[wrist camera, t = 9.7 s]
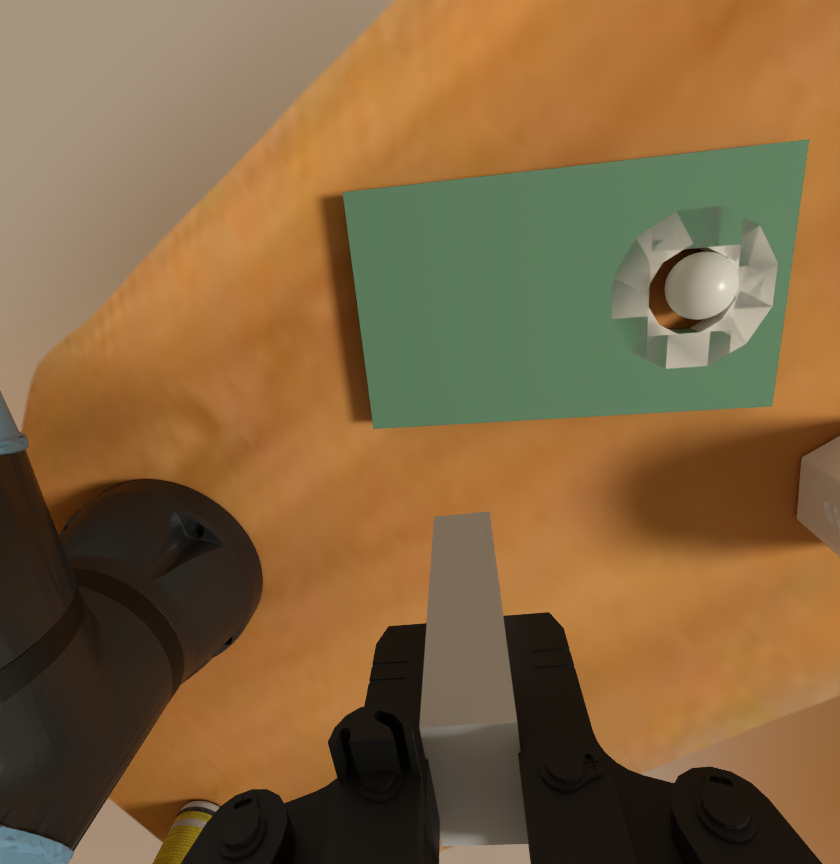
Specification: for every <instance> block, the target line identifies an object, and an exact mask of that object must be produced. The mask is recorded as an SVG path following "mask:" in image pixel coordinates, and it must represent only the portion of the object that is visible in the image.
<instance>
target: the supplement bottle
mask: <svg viewBox="0 0 840 864" xmlns="http://www.w3.org/2000/svg"><path fill="white" fill-rule="evenodd" d="M218 809H219V806H217V805H215V804H213V803H210V802H207V801H193V802H190V803H188V804H186V805H185V806H183V807H182V809H181V810H180V812H179V813H178V815H177V817H176V819H175V821H174V823H173V825H172V827H171V829H170V831H169V833H168V835H167V837H166V839H165V840H164V842H163V844H162V846H161V848H160V850H159V852H158V854H157V856H156V858H155V860H154V862H153V864H181V862H182V861H183V859H184V857H185V856H186V854H187V853H188V851H189V850H190V848H191V846H192V845H193V843H194V842H195V840H196V839H197V837H198V835H199V834H200V832H201V831H202V829H203V828H204V826H205V825H206V823H207V822H208V821H209V819H210V818H211V817H212V816H213V815H214V813H215V812H216V811H217V810H218Z"/></svg>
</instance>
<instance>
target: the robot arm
mask: <svg viewBox="0 0 840 864" xmlns="http://www.w3.org/2000/svg"><path fill="white" fill-rule="evenodd" d="M28 446H29V442H28V439H27V437H26V436H25V435H24V434H23V433H21V432H19V431H18V428H17V426H16V424H15V422H14V420H13V418H12V415H11V413H10V411H9V409H8V407H7V404H6V402H5V400H4V398H3V396H2V394H1V392H0V864H68V863H69V861H70V859H71V858H72V856H73V853H74V852H73V851H74V850H75V848H76V847H77V845H78V844H79V842H80V840H81V839H82V837H83V836H84V834H85V833H86V831H87V829H88V828H89V826H90V825H91V823H92V822H93V820H94V818H95V817H96V815H97V814H98V812H99V811H100V809H101V808H102V806H103V804H104V803H105V801H106V800H107V798H108V797H109V795H110V794H111V792H112V790H113V789H114V787H115V786H116V784H117V783H118V781H119V779H120V778H121V776H122V775H123V773H124V772H125V770H126V768H127V767H128V765H129V764H130V762H131V761H132V759H133V758H134V756H135V754H136V753H137V751H138V750H139V748H140V747H141V745H142V743H143V742H144V740H145V739H146V737H147V736H148V734H149V733H150V731H151V729H152V728H153V726H154V725H155V723H156V722H157V720H158V718H159V717H160V715H161V714H162V712H163V711H164V709H165V707H166V706H167V704H168V703H169V701H170V700H171V698H172V697H173V695H174V694H175V692H176V691H177V689H178V688H179V686H180V685H181V684H182V683H184V682H185V681H186V680H188V679H189V678H190V677H191V676H193V675H194V674H195V673H196V672H198V671H199V670H200V669H201V668H203V667H204V666H205V665H206V664H207V663H208V662H209V661H210V660H211V659H212V658H213V657H215V656H217V655H219V654H220V653H222V652H223V651H224V650H226V649H227V648H228V647H230V646H231V645H232V644H233V643H234V642H235V641H236V640H237V639H238V637H239V636H240V635H241V634H242V632H243V631H244V629H245V628H246V626H247V624H248V623H249V621H250V619H251V617H252V616H253V614H254V612H255V611H256V609H257V607H258V604H259V601H260V598H261V594H262V585H263V577H262V569H261V564H260V560H259V557H258V554H257V552H256V549H255V547H254V545H253V543H252V541H251V540H250V538H249V536H248V535H247V533H246V532H245V530H244V529H243V528H242V526H241V525H240V524H239V523H238V522H237V521H236V520H235V518H234V517H233V516H232V515H231V514H229V513H228V512H227V511H226V510H225V509H224V508H223V507H221V506H220V505H219V504H217V503H216V502H214V501H213V500H211V499H210V498H208V497H206V496H205V495H203V494H201V493H199V492H197V491H195V490H193V489H190V488H188V487H185V486H182V485H179V484H175V483H171V482H166V481H159V480H136V481H130V482H125V483H122V484H119V485H116V486H114V487H111V488H109V489H107V490H106V491H104V492H103V493H101V494H100V495H98V496H97V497H95V498H94V499H92V500H91V501H89V502H88V503H87V504H85V505H84V506H82V507H81V508H80V509H79V510H78V511H77V512H76V513H75V514H74V515H73V516H72V517H71V518H70V519H69V520H68V522H67V523H66V525H65V526H64V528H63V530H62V532H61V534H60V535H59V536H58V534H57V531H56V529H55V526H54V524H53V521H52V519H51V516H50V514H49V511H48V509H47V506H46V503H45V501H44V498H43V495H42V493H41V490H40V487H39V485H38V482H37V479H36V477H35V474H34V471H33V469H32V466H31V463H30V461H29V458H28V455H27V453H26V450H25V449H27V448H28ZM328 745H329V748H330V752H331V756H332V759H333V763H334V767H335V770H336V774H337V779H335V780H334V781H333V782H331V783H330V784H329V785H327V786H326V787H324V788H322V789H320V790H318V791H316V792H313V793H311V794H308V795H305V796H303V797H300V798H297V799H295V800H292V801H290V802H287V803H283V801H282V799H281V798H280V796H279V795H277V794H275V793H273V792H271V791H269V790H267V789H252V790H249V791H247V792H244V793H241V794H239V795H236V796H234V797H233V798H232V799H230V800H229V801H227V802H226V803H225V804H223V805H222V806H221V807H219V809H218V810H217V811H216V812H215V813H214V815H213V816H212V817H211V818H210V819H209V821H208V822H207V823H206V825H205V826H204V828H203V829H202V831H201V832H200V834H199V835H198V837H197V839H196V840H195V842H194V843H193V845H192V846H191V848H190V850H189V851H188V853H187V854H186V856H185V857H184V859H183V861H182V862H181V864H439V840H440V837H441V842H442V846H469V845H501V844H529V853H530V861H531V864H822V863H821V862H820V860H819V859H818V858H817V857H816V856H815V854H814V853H813V852H812V851H811V850H810V848H809V847H808V846H807V845H806V844H805V842H804V841H803V840H802V839H801V838H800V836H799V835H798V834H797V833H796V832H795V830H794V829H793V828H792V827H791V825H790V824H789V823H788V822H787V821H786V819H785V818H784V817H783V816H782V815H781V813H780V812H779V811H778V810H777V809H776V807H775V806H774V805H773V804H772V803H771V801H770V800H769V799H768V798H767V797H766V796H765V795H764V794H762V793H761V792H760V791H759V790H758V789H757V788H756V787H755V786H754V785H753V784H752V783H750V782H748V781H746V780H745V779H743V778H741V777H739V776H738V775H736V774H734V773H732V772H730V771H726V770H721V769H718V768H714V767H700V768H692V769H690V770H688V771H686V772H685V773H683V774H681V775H679V776H678V778H677V780H676V782H675V783H670V782H666V781H663V780H659V779H655V778H651V777H647V776H643V775H641V774H638V773H636V772H633V771H630V770H628V769H626V768H625V767H623V766H621V765H620V764H618V763H616V762H615V761H614V760H613V759H612V758H611V757H610V756H608V755H607V754H606V753H605V752H604V750H603V749H602V748H601V746H600V745H599V743H598V742H597V740H596V738H595V735H594V733H593V730H592V727H591V723H590V720H589V716H588V713H587V709H586V706H585V702H584V699H583V695H582V692H581V688H580V684H579V681H578V677H577V674H576V670H575V669H574V663H573V660H572V656H571V653H570V651H569V646H568V642H567V639H566V635H565V632H564V628H563V627H562V626H561V625H560V624H559V623H558V622H557V621H556V620H555V618H554V617H553V616H552V615H551V614H550V613H549V612H548V613H535V614H522V615H509V616H503V611H502V603H501V595H500V588H499V580H498V573H497V565H496V558H495V550H494V543H493V535H492V527H491V520H490V512H480V513H470V514H460V515H450V516H439V517H434V527H433V541H432V556H431V570H430V584H429V598H428V612H427V623H426V624H413V625H400V626H389V627H388V628H387V630H386V631H385V632H384V634H383V635H382V637H381V638H380V640H379V641H378V642H377V644H376V649H375V654H374V659H373V667H372V670H371V675H370V684H369V685H368V690H367V696H366V701H365V706H364V707H361V708H359V709H357V710H355V711H354V712H352V713H350V714H348V715H347V716H345V717H344V718H343V719H342V721H341V722H340V723H339V724H338V725H337V726H336V727H335V728H334V730H333V732H332V735H331V737H330V739H329V741H328Z"/></svg>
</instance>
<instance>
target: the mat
mask: <svg viewBox="0 0 840 864" xmlns="http://www.w3.org/2000/svg"><path fill="white" fill-rule="evenodd" d="M808 144H809V139H808V140H799V141H791V142H782V143H773V144H764V145H755V146H747V147H738V148H729V149H720V150H711V151H703V152H694V153H685V154H676V155H667V156H659V157H650V158H641V159H632V160H623V161H615V162H606V163H597V164H588V165H579V166H571V167H562V168H553V169H544V170H535V171H527V172H518V173H509V174H500V175H491V176H483V177H474V178H465V179H456V180H447V181H439V182H430V183H421V184H412V185H403V186H395V187H386V188H377V189H368V190H359V191H351V192H343V199H344V207H345V215H346V222H347V230H348V238H349V245H350V253H351V261H352V268H353V276H354V284H355V291H356V299H357V307H358V314H359V322H360V330H361V337H362V345H363V353H364V360H365V368H366V375H367V383H368V391H369V398H370V406H371V414H372V421H373V429H378V428H396V427H414V426H431V425H449V424H467V423H485V422H502V421H520V420H538V419H556V418H573V417H591V416H609V415H627V414H644V413H662V412H680V411H698V410H715V409H733V408H751V407H769V406H772V403H773V395H774V388H775V381H776V374H777V367H778V360H779V352H780V345H781V338H782V331H783V324H784V317H785V309H786V302H787V295H788V288H789V281H790V273H791V266H792V259H793V252H794V245H795V238H796V230H797V223H798V216H799V209H800V202H801V195H802V187H803V180H804V173H805V166H806V159H807V151H808ZM693 248H699V249H701V250H703V251H705V252H714V253H718V254H721V255H723V256H724V257H726V258H727V259H729V260H730V261H731V262H732V263H733V265H734V266H735V268H736V270H737V273H738V278H739V285H738V290H737V293H736V295H735V297H734V299H733V301H732V302H731V303H730V305H729V306H728V307H727V308H726V309H724V310H723V311H722V312H720V313H719V314H717V315H715V316H712V317H710V318H706V319H704V320H702V321H700V322H699V323H697V324H695V325H694V326H692V327H690V328H682V329H667V328H665V327H663V326H661V325H659V324H658V322H657V320H656V319H655V317H654V315H653V313H652V312H651V310H650V308H649V290H650V283H651V281H652V280H653V278H654V276H655V275H656V273H657V271H658V270H659V268H660V266H661V265H662V263H663V262H665V261H667V260H668V259H670V258H671V257H673V256H674V255H676V254H677V253H679V252H681V251H682V250H684V249H693Z"/></svg>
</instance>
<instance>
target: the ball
mask: <svg viewBox="0 0 840 864" xmlns="http://www.w3.org/2000/svg"><path fill="white" fill-rule="evenodd" d="M738 285H739V278H738V273H737V270H736V268H735V266H734V265H733V263H732V262H731V261H730V260H729V259H727V258H726V257H724V256H723V255H721V254H718V253H714V252H699V253H694V254H691V255H689V256H687V257H685V258H683V259H682V260H680V261H679V262H678V263H677V264H676V265H675V266H674V267H673V268H672V269H671V271H670V273H669V274H668V276H667V279H666V282H665V298H666V301H667V303H668V305H669V306H670V308H671V309H672V310H673V311H674V312H675V313H677V314H678V315H680V316H682V317H684V318H688V319H695V320H698V319H706V318H710V317H712V316H715V315H717V314H719V313H720V312H722V311H723V310H724V309H726V308H727V307H728V306H729V305H730V303H731V302H732V301H733V299H734V297H735V295H736V293H737V290H738Z"/></svg>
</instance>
